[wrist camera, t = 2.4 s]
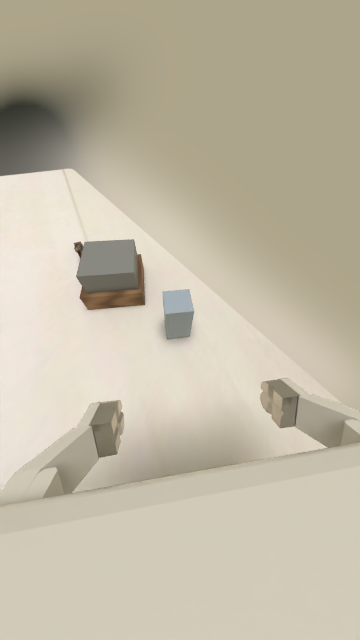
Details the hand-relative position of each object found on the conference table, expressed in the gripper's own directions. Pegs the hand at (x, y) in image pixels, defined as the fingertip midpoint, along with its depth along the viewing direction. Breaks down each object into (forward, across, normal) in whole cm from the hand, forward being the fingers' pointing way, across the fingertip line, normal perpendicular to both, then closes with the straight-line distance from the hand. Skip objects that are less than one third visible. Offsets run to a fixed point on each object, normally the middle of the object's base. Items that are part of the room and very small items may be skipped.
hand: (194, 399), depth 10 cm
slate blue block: (+25, +1, -3) cm, 25 cm away
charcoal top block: (+31, -11, +9) cm, 34 cm away
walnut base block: (+34, -11, +6) cm, 37 cm away
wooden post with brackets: (+43, -21, +14) cm, 50 cm away
